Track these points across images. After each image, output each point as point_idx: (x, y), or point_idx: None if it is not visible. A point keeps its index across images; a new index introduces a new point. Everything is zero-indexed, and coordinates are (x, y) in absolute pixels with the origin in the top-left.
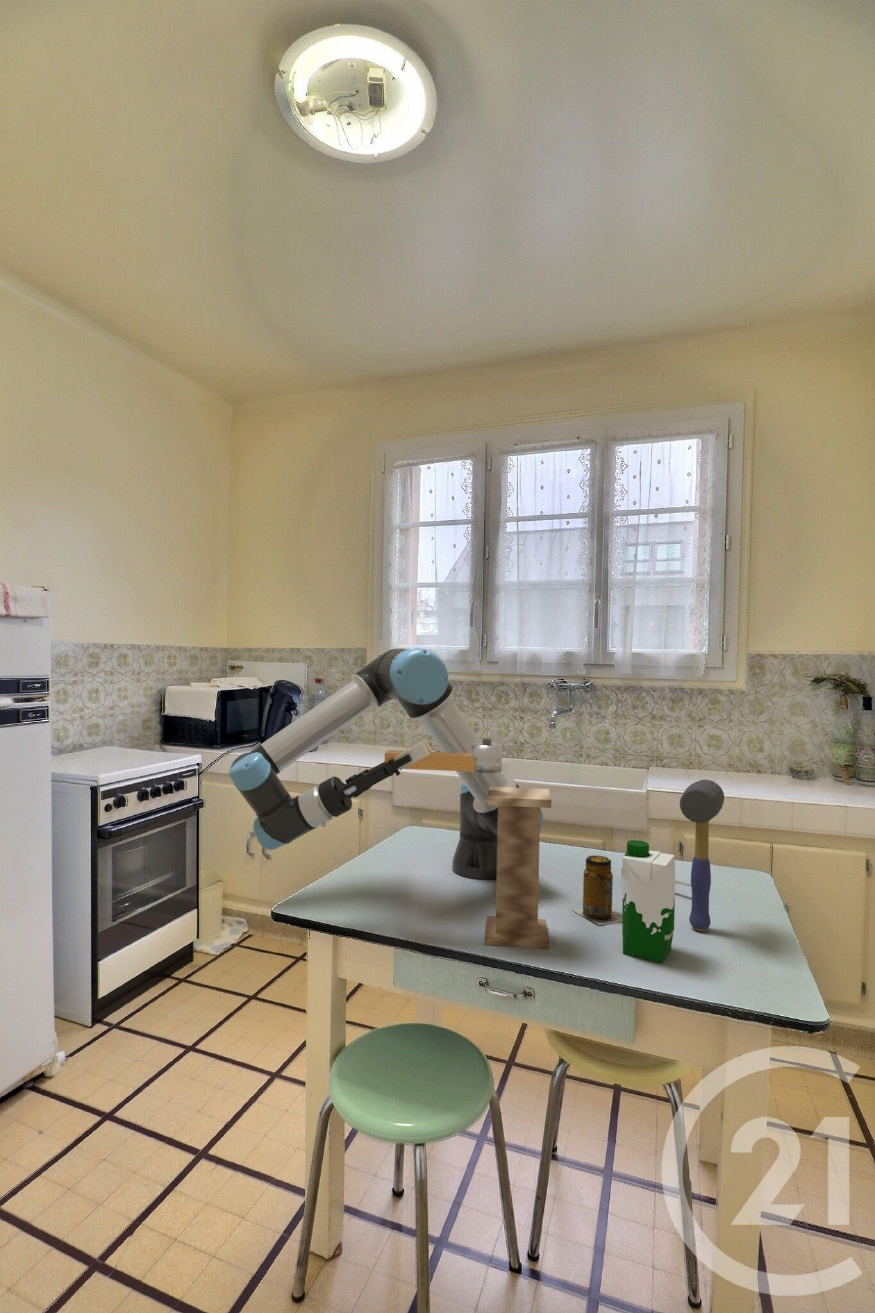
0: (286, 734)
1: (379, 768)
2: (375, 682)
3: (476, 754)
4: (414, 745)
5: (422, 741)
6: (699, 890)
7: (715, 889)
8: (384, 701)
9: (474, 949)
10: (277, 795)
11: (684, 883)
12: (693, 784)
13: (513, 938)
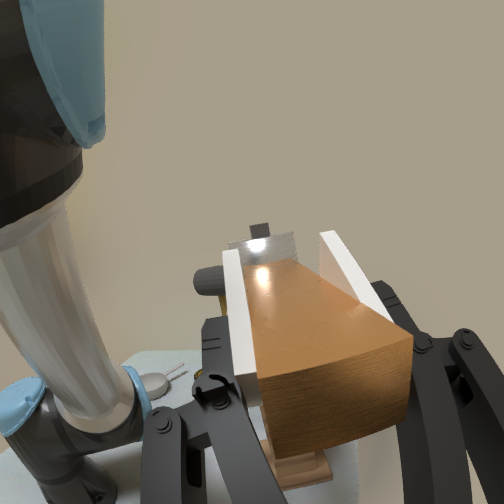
0: None
1: (492, 364)
2: None
3: (292, 251)
4: (243, 284)
5: (239, 257)
6: None
7: (165, 365)
8: None
9: (349, 482)
10: None
11: (179, 366)
12: (218, 268)
13: (323, 452)
